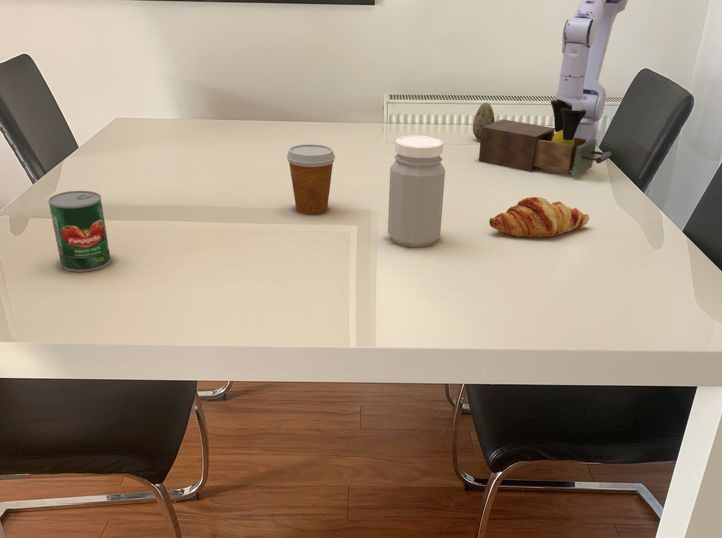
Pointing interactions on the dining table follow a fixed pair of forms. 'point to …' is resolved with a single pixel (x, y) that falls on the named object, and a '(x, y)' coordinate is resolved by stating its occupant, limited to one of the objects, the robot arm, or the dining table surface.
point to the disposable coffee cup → (311, 176)
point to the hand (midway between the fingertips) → (563, 135)
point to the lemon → (559, 139)
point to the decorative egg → (482, 119)
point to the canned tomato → (80, 230)
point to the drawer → (567, 155)
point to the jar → (416, 191)
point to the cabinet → (511, 143)
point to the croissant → (538, 218)
